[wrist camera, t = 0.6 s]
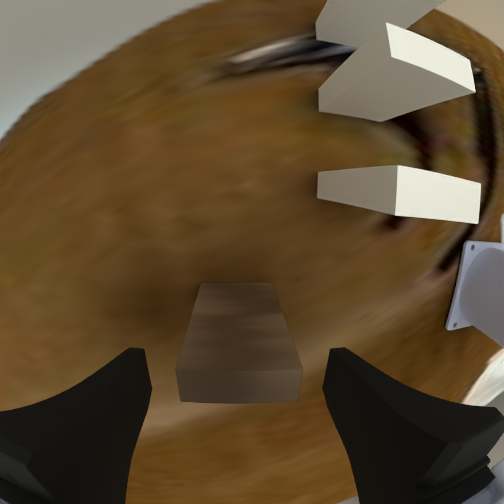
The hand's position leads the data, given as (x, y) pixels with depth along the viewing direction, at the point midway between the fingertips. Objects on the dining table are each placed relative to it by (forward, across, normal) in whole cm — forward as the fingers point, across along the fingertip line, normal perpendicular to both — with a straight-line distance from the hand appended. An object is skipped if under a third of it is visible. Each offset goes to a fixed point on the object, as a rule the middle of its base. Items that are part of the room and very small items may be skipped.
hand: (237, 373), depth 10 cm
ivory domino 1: (+8, -7, -18) cm, 21 cm away
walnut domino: (+8, 0, 0) cm, 8 cm away
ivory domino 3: (+8, -7, -7) cm, 13 cm away
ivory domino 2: (+8, -7, -12) cm, 17 cm away
